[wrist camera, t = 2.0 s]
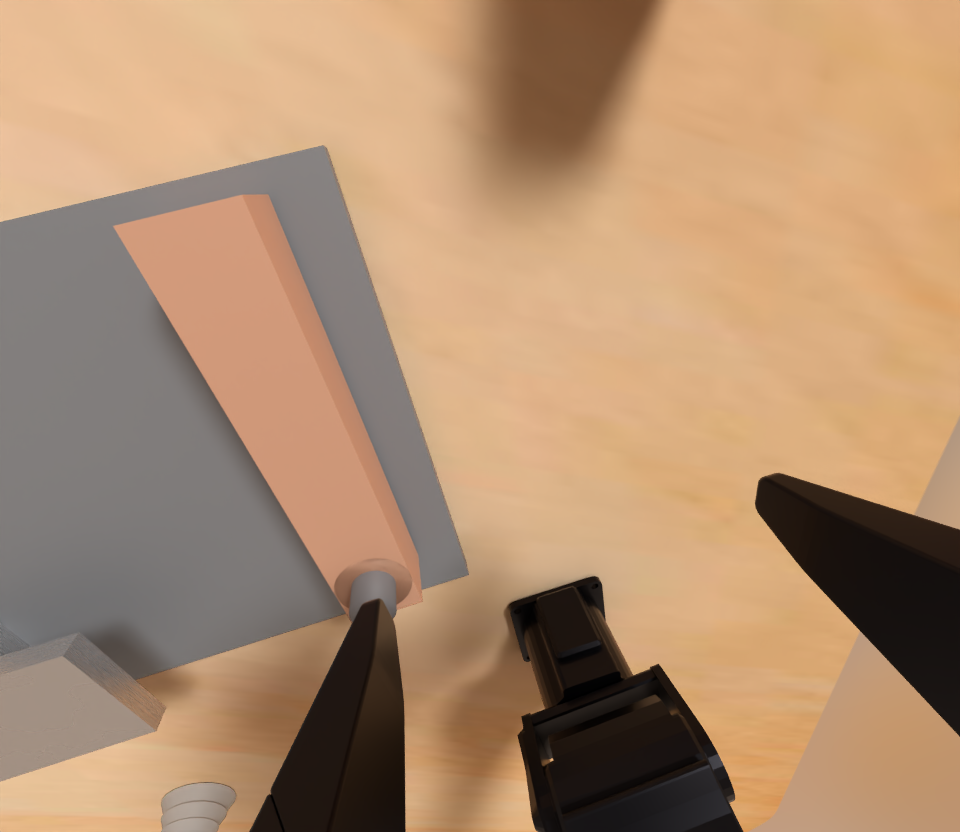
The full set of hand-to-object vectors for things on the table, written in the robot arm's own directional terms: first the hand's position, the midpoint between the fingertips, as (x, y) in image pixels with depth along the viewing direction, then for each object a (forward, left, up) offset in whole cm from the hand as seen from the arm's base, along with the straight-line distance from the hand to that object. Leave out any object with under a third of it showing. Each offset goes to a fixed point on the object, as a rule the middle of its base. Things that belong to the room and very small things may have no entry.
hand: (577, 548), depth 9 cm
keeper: (-7, +23, -12) cm, 27 cm away
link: (-1, +7, -11) cm, 13 cm away
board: (-2, +16, -12) cm, 20 cm away
